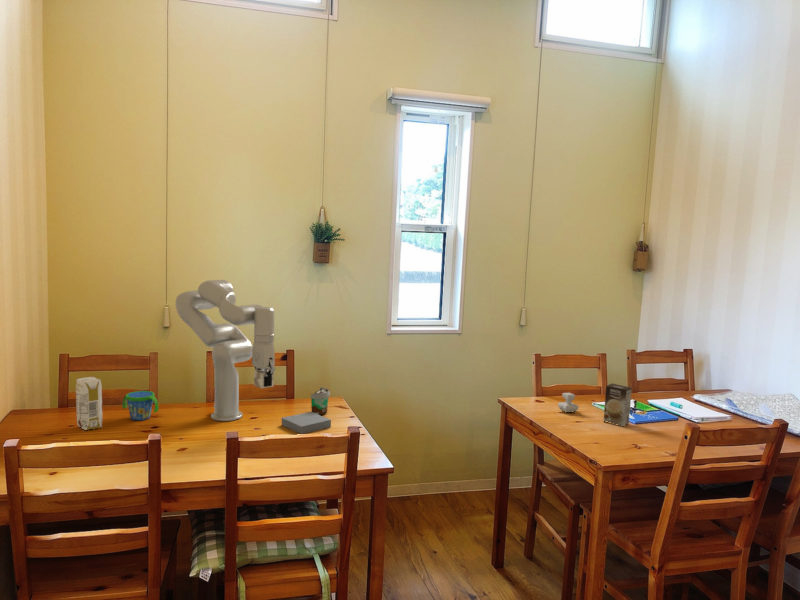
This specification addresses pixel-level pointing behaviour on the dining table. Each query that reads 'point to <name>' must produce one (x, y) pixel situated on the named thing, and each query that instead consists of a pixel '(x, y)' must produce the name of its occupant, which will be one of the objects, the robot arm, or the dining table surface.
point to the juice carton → (89, 403)
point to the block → (261, 378)
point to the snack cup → (140, 404)
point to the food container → (320, 401)
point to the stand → (306, 422)
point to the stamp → (568, 403)
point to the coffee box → (617, 404)
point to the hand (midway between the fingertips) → (263, 384)
